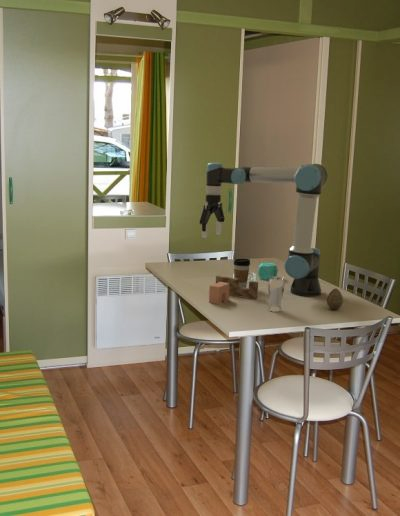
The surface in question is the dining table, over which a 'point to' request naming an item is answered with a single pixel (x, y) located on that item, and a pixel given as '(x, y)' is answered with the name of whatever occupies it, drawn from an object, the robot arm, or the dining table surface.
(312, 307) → the dining table surface
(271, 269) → the decorative dice
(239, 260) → the coffee cup
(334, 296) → the decorative egg
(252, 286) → the slotted board
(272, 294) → the beer glass
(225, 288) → the notched block
